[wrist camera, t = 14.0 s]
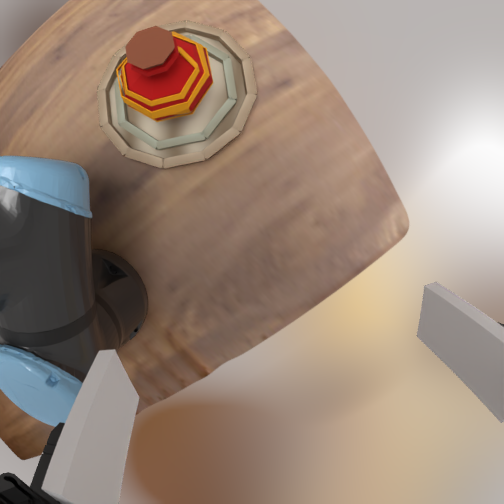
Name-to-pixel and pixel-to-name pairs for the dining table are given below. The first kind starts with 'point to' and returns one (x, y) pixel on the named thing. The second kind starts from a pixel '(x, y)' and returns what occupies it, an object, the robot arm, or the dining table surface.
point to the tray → (190, 126)
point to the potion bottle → (164, 74)
